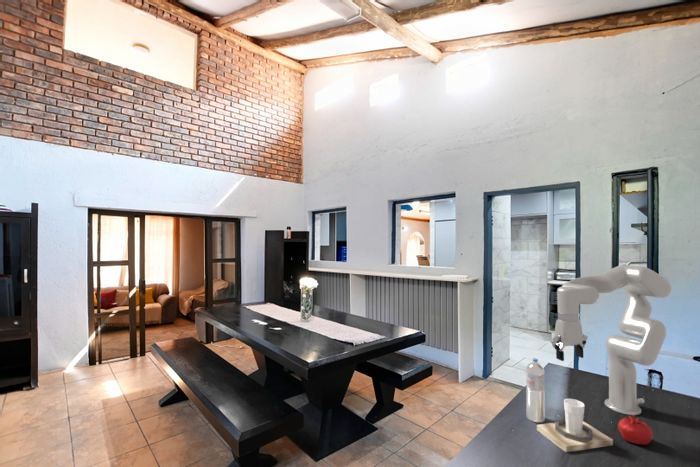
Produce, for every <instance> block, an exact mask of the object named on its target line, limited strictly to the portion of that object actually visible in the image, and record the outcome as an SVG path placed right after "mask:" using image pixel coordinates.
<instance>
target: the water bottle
mask: <svg viewBox="0 0 700 467" xmlns="http://www.w3.org/2000/svg"><path fill="white" fill-rule="evenodd" d="M525 371H526V378H525V379H526V381H525V382H526V385H525V386H526V387H525V390H526V391H525V401H526V402H525V403H526V404H525V405H526V406H525V407H526V409H525V413H526V418H527V419H528V420H529V421H530V422H533V423H536V424H543V423H544V422H545V420H546V419H545V418H546V412H545V411H546V398H545V397H546V392H545V391H546V390H545V372H546V371H545V369H544V367H543V366H542V365H541V364H540V363H539V359H538V358H532V362H530V363H529V364H528V365H527V366H526V367H525Z"/></svg>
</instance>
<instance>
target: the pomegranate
mask: <svg viewBox="0 0 700 467" xmlns="http://www.w3.org/2000/svg"><path fill="white" fill-rule="evenodd" d="M640 419H641V417H636V415H628V417H622V419H619V421H618V423H617V429H618V431H619V433H620V435H621V437H622V438H623V439H624V440H625V441H626V442H628V443H631V444H636V445H642V446H646V445H648V444H650V443H651V441H652V440H653V437H654V432H653V428H651V427H650V425H648V423H647V422H646V421H642V420H641V421H640Z"/></svg>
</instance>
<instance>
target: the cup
mask: <svg viewBox="0 0 700 467" xmlns="http://www.w3.org/2000/svg"><path fill="white" fill-rule="evenodd" d="M563 409H564V416H565V417H564V418H565V421H566V431H567V432H568V433H570V434H574V435H578V436H581V435H582V430H583V421H584V415H585V404H584V402H582V401H580V400H578V399H574V398H564V399H563Z"/></svg>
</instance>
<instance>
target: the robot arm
mask: <svg viewBox="0 0 700 467" xmlns="http://www.w3.org/2000/svg"><path fill="white" fill-rule="evenodd" d="M622 288H623V290H624V293H625V295H626V298H627V304H626V307H625V310H624V312H623V314H622V316H621V318H620V321H619V324H618V329H619V331H620V332H621V333H622V334H624V335H627V336H624V335H620V334H619V335H618V334H612V335H610V336H609V337H607V339H606V341H605V347H606V348H605V349H606V352H607V353H606V354H607V357H608V398H607V399H605V400H604V405H605V406H606V407H607V408H609V409H610V410H612V411H614V412H616V413H620V414H624V415H627V416H631V415H634V416H639V415H640V414H641V413H642V408H640V406H639V405H640V404H644V403H645V399H644V398H637V368H636V365H635V364H638V365H642V366H645V367H647V366H652V365H653V364H654V363H655V362H656V361H657V359H658V356H659V354H660V351H661V349H662V346H663V344H664V342H665V340H666V335H667V329H666V326H665V324H664V323H663V322H662V321H660V320H658V319H655V318H651V317H650V316H651V314H652V305H651V302H650V301H649V300H648V298H647V297H653V298H658V299H659V298H660V299H662V298H666V297H668V296H669V295H671V292H672V286H671V283H670V282H669V281H668V279H667V278H665V277H664V276H662V275H660V274H659V273H657V272H656V271H654V270H652V269H650V268H648V267H645V266H640V265H639V266H638V265H627V264H625V265H624V264H621V265H617V266H615V267H612V268H610V269H608V270H606V271H604V272H602V273H599V274H593V275H587V276H581V277H576V278H574V279H570V280H569V281H567V282H565V283H563V284H562V286H560V287H558V288H557V290H556V296H557V297H556V299H557V300H556V301H557V320H555V325H554V326H555V327H554V337H553V338H551V340H550V343H551V345H552V347H553V348H554V350H555V355H556V356H555V357H556V359H557V360H559V361H561V362H564V361H565V352H564V351H563V350H564V348H565V347H569V346H570V347H572V346H575V347H574V348H575V356H576V357H579V358H581V359H583V358H584V349H585V346H586V344H587V339H588V336H587V335H586V334H584V333H583V328H582V323H581V320H580V316H581V314H580V305H594V304H595V303H597V302H598V301H599V299H600V294H609V293H614V292H615V291H617V290H619V289H622ZM636 338H638V339H636ZM639 339H641V340H639ZM634 363H635V364H634Z"/></svg>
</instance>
